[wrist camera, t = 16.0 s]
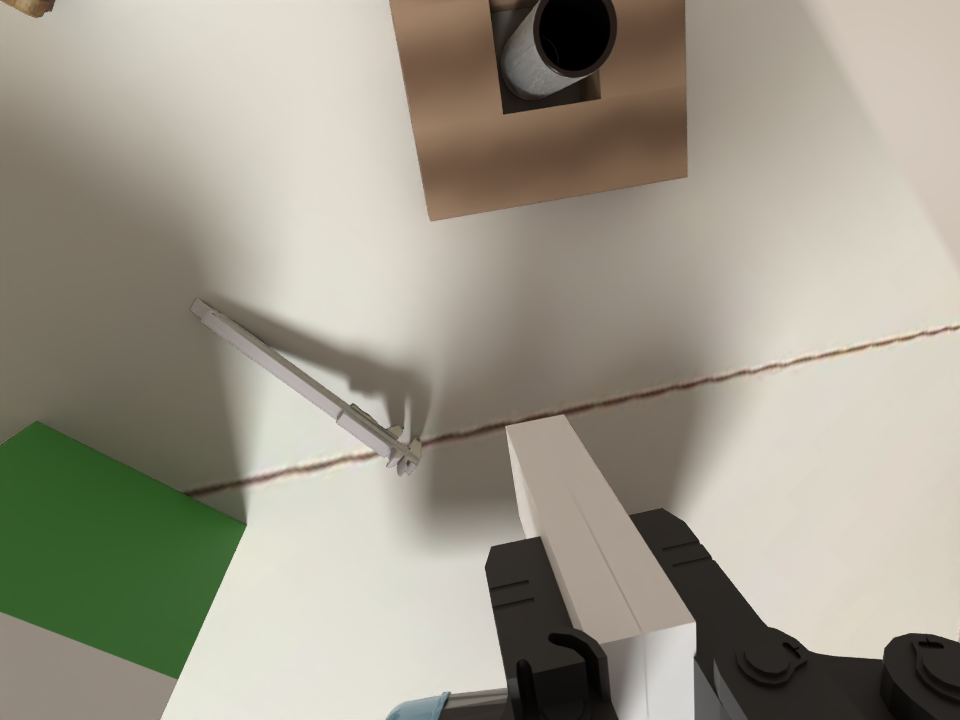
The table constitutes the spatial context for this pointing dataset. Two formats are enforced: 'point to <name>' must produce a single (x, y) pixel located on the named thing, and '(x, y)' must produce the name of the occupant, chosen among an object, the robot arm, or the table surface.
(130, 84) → the table surface
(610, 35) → the grey metal tube
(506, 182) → the socket board
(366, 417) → the caliper
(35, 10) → the wooden carving
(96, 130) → the table surface
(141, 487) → the hardback book
